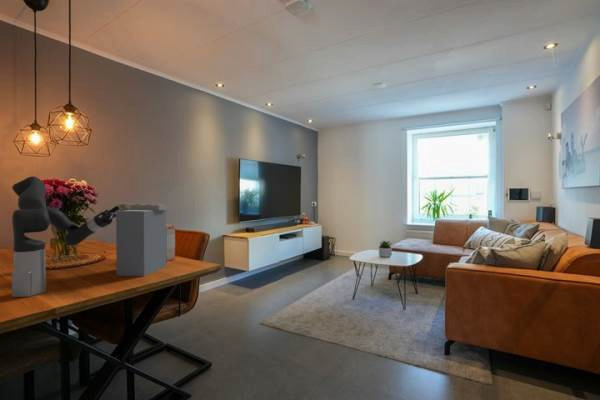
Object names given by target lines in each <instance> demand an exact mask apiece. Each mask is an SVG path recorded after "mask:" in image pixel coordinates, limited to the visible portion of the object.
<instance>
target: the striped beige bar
mask: <svg viewBox="0 0 600 400" xmlns="http://www.w3.org/2000/svg"><path fill="white" fill-rule="evenodd" d="M130 205H148V206H159V205H163V204H162V203H117V206H119V208H120V209H119V210H130Z"/></svg>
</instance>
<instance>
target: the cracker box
mask: <svg viewBox="0 0 600 400" xmlns="http://www.w3.org/2000/svg"><path fill="white" fill-rule="evenodd" d="M175 259H176V225H174V224H167V223H166V262H168V261H169V262H170V261H174V260H175Z"/></svg>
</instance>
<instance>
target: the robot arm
mask: <svg viewBox="0 0 600 400" xmlns="http://www.w3.org/2000/svg"><path fill="white" fill-rule="evenodd" d="M12 190H13V193H14V194H16V196H18V200H17V206H18V208H19V209H16V210H14V211H13V212H12V217H11V219H12V220H11V221H12V232H13V233H12V234H13V271H12V272H11V285H12V286H11V294H12V298H18V297H19V298H23V297H24V298H25V297H26V298H27V297H33V296H36V295H40V294H43V293H45V292H46V287H47V286H46V284H47V283H46V282H47V281H46V277H47V276H46V275H47V274H46V243H45V241H43V240H40V239H39V240H38V239H33V238H30V237H28V236H26V235H25V234H29V233H42V232H44V231H45V232H46V231H47V230H48V229H49V227H50V224H51V226H53V227H54V228H55V229H56V230H57V231H58V232H64V231H66V232H67V234H65V236H64V239H63V241H64V243H65V244H66V245H67V246H69V247H71V246H73V247H74V246H77V245H79V244H81V242H83V241H85V240H86V239H87V238H88V237H89V236H92V235H93V234H95V233H97V232H98V231H100V230H102V229H104V228H106V227H108V226H109V225H111V224H112V223H113V220H114V219H115V218H116V211H123V210H119V209H120V208H119V206H118V205H116V206H114V207H113V208H109V209H105V210H104V211H101V212H99V213H97V214H96V215H94V216H92V217H91V218H90V219H88V220H87V221H85V222H84V223H82V224H81V225H80V226H79V225H78V224H76V223H74V222H73V221H71V220H70V219H69V218H68V217H67V216H66V214H65V213H63V211H61V210H59V209H57V208H54V207H52V206H51V207H50V206H48V205H47V200H46V197H45V196H46V191H47V188H46V184H45V183H44V182H43V181H42V179H41V178H39V177H37V176H33V175H31V176H28V177H26V178H25V179H22V180H20V181H19V182H16V183H14V184H13V185H12Z"/></svg>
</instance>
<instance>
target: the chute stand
mask: <svg viewBox="0 0 600 400" xmlns="http://www.w3.org/2000/svg"><path fill="white" fill-rule="evenodd" d="M168 207H169V206H168V204H162V205H159V206H148V205H130V210H123V211H116V219H115V222H116V223H115V225H116V226H115V228H116V231H115V233H116V234H115V235H116V236H115V237H116V241H115V242H116V244H115V246H116V247H115V248H116V254H115V255H116V276H119V277H120V276H121V277H122V276H123V277H125V276H126V277H128V276H129V277H146V276H148V275H150V274H153V273H156V272H158V271H159V270H162V269H164V268H166V267H167V261H166V224H167V210H168V209H169V208H168ZM165 266H166V267H165ZM163 267H164V268H163Z"/></svg>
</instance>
